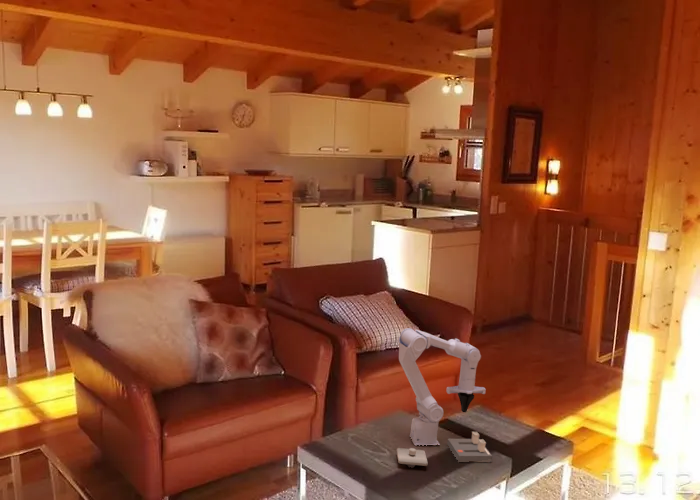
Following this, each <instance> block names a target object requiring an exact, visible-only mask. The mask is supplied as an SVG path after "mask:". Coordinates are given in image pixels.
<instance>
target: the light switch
mask: <svg viewBox="0 0 700 500" xmlns="http://www.w3.org/2000/svg"><path fill="white" fill-rule="evenodd" d="M396 455H397V460H398V461H397V462H398V464H402V465H406V466H408V468H410V467H411V469H413V468H414V467H415V466H424V467H427V466H428V458H427V454H426V452H425V450H424V449H416V448H415V447H410V448H402V447H397V448H396Z"/></svg>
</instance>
